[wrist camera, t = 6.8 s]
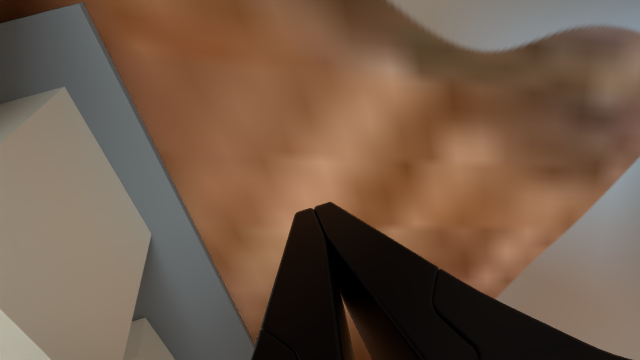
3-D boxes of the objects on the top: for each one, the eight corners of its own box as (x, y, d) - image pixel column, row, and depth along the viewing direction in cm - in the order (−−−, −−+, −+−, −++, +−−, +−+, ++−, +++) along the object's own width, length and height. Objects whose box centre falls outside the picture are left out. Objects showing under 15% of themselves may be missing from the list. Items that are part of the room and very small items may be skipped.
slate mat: (267, 369, 21) (267, 376, 21) (27, 453, 20) (24, 461, 20) (83, 2, 11) (78, 3, 11) (-423, 130, 10) (-446, 136, 10)
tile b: (151, 234, 15) (109, 417, 9) (98, 250, 15) (20, 448, 9) (64, 86, 12) (-89, 221, 6) (-5, 105, 12) (-235, 264, 6)
